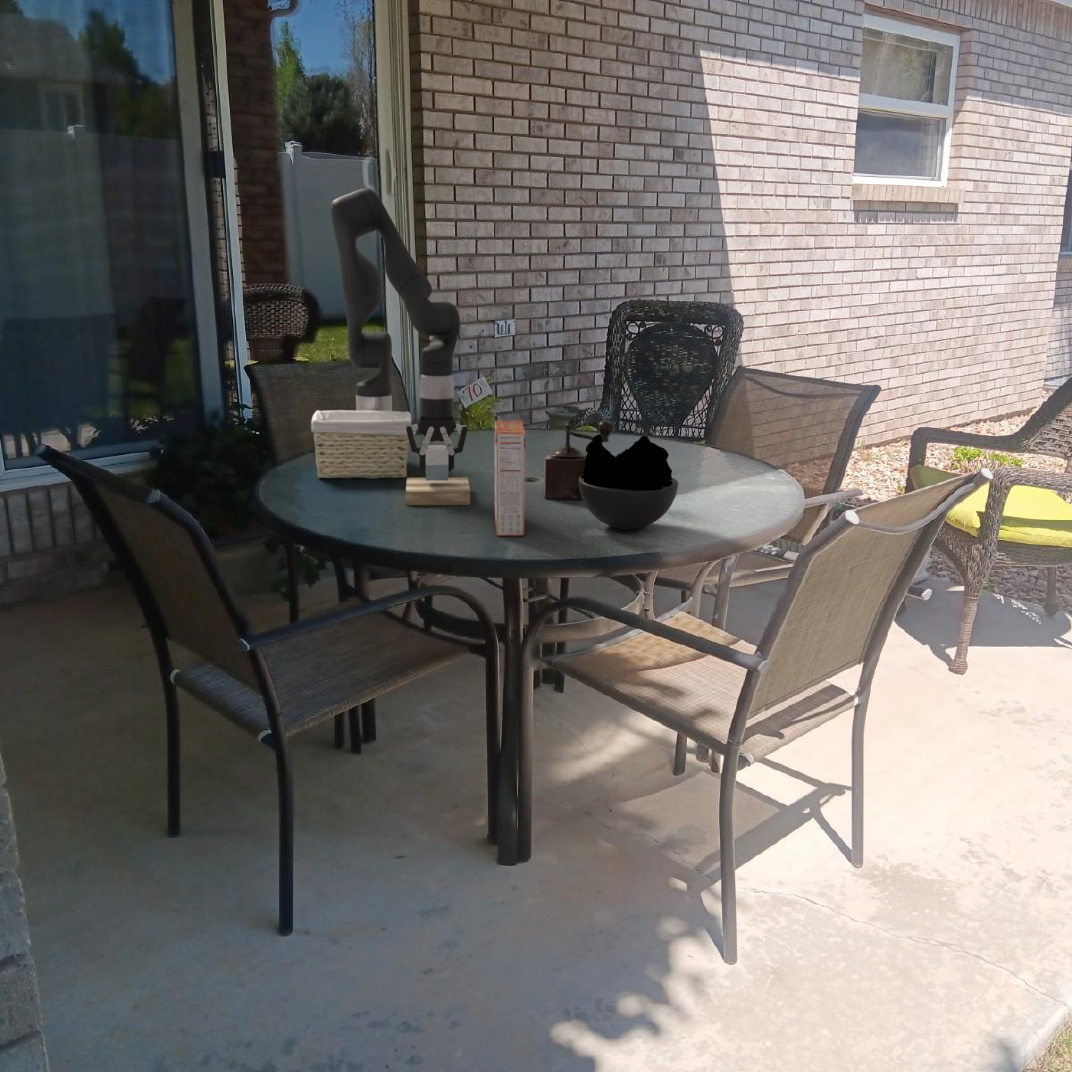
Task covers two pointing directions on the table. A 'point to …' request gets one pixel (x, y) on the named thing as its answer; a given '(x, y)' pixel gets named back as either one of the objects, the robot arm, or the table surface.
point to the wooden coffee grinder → (568, 465)
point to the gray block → (437, 463)
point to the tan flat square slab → (437, 492)
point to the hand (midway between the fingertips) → (437, 470)
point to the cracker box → (509, 478)
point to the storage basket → (361, 443)
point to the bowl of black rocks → (627, 484)
